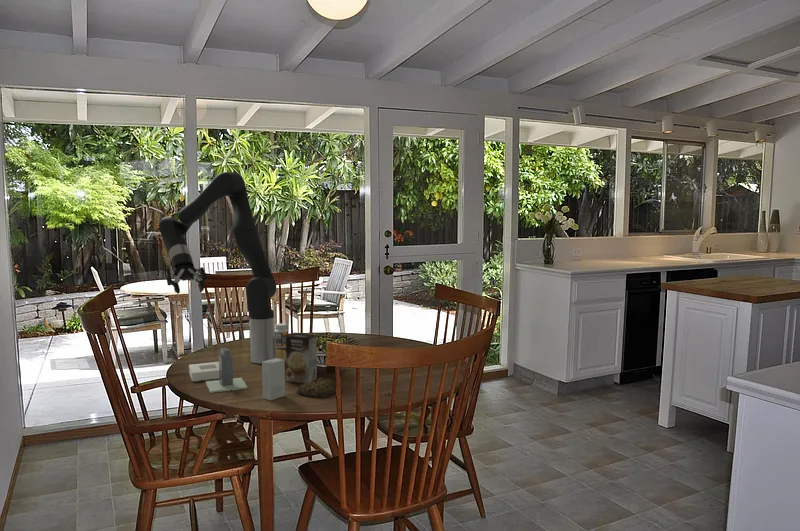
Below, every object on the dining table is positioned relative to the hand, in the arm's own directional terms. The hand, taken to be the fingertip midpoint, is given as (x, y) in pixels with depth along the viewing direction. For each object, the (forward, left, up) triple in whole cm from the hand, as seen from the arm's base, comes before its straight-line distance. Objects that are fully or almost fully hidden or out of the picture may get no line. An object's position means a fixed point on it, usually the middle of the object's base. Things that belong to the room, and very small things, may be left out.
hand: (190, 291), depth 228 cm
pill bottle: (-38, -17, -29) cm, 51 cm away
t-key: (-8, +31, -28) cm, 42 cm away
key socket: (-4, +15, -29) cm, 32 cm away
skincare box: (-20, +50, -29) cm, 61 cm away
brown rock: (-35, +50, -29) cm, 67 cm away
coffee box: (-33, +35, -29) cm, 56 cm away
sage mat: (-8, +31, -29) cm, 43 cm away
